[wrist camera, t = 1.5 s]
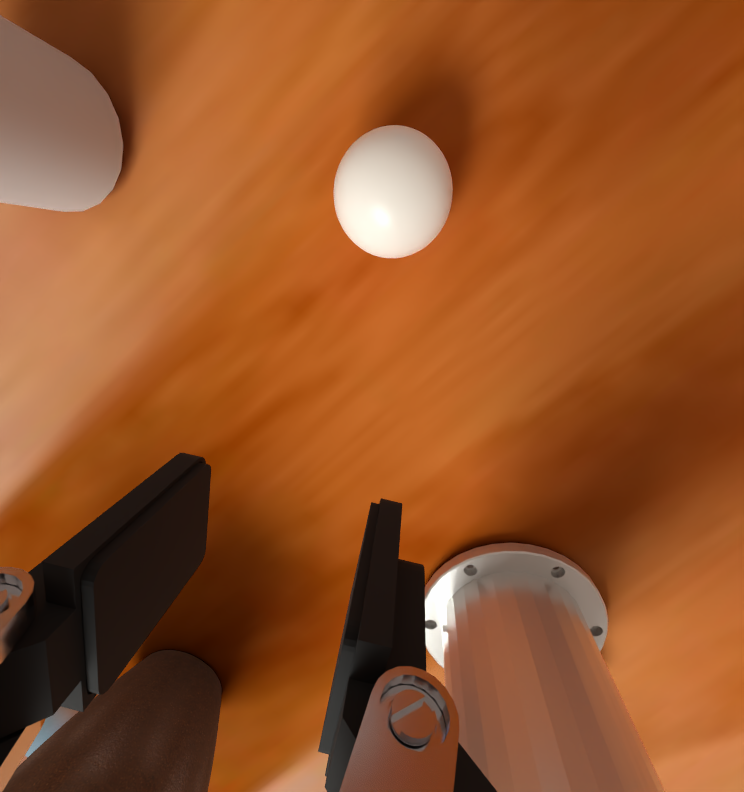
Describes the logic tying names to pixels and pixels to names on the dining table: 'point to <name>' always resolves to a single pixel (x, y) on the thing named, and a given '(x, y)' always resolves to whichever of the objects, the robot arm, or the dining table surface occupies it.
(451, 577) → the robot arm
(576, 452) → the dining table surface
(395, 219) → the cue ball
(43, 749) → the plant pot
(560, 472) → the dining table surface
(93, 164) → the can
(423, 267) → the dining table surface
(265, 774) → the dining table surface
